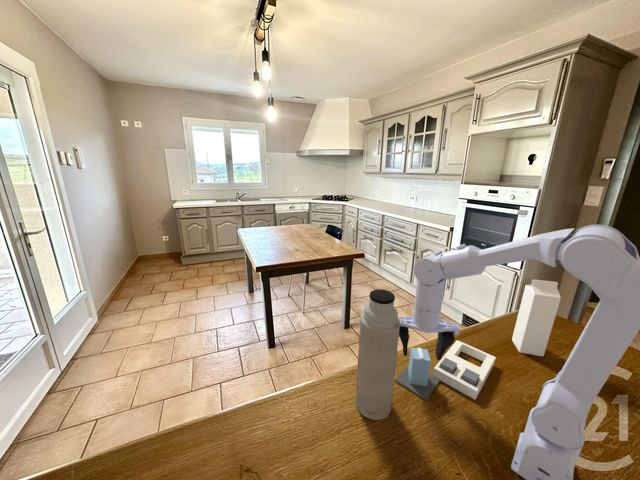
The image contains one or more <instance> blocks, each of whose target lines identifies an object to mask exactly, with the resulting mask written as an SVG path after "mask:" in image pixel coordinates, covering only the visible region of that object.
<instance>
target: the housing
mask: <svg viewBox="0 0 640 480" xmlns="http://www.w3.org/2000/svg"><path fill="white" fill-rule="evenodd" d="M461 351H462V352H461ZM460 353H463V354H467V356H471V357H473V358H474V359H477V360H479V361H480V362H482V364H481V365H480V366H478V365H476V364H474V363H472V362H470V361H467V360H465V359H464V358H461V357H460V356H459V355H460ZM443 355H444V356H442V357H441V360H438V361H439V362H437V364H435V366H434V367H433V370H432V371H433V372H432V376H433V377H435V378H437V379H439V380H440V382H442V383H444V384H446V385H448V386H449V387H451V388H453V389H455V390H457V391H458V392H460V393H462V394H464V395H465V396H468V397H469V398H471V399H473V400H474V401H475V400H476V399H477V397H478V396H479V394H480V392H481V390H482V388H483V386H484V384H485V382H486V381H487V379H488V377H489V375H490V373H491V371H492V369H493V367H494V366H495V362H496V358H497V357H496V356H494V355H492V354H489V353H487V352H485V351H483V350H480V349H479V348H476V347H474V346H471V345H470V344H468V343H465V342H462V341H460V340H458V339H457V340H455V341H454V343H453V344H452V345H451V346H450V348H448V350H447V351H446V353H444V354H443ZM444 358H447V359H449V360H451V361H453V362H455V363H457V367H456V371H455V372H454V374H451V373H449V372H447V371H445V370H443V369H441V368H440V364H441V362H442V361H443V360H444ZM466 368H467V369H469V370H471V371H473V372H475V373H477V374H479V375H480V376H479V380H478V384H477V386H476V387H475V386H473V385H471V384H469V383H467V382H466V381H464V380H462V379H461V378H462V374H463V373H464V371H465V369H466Z"/></svg>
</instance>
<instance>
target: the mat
mask: <svg viewBox="0 0 640 480" xmlns="http://www.w3.org/2000/svg"><path fill="white" fill-rule="evenodd" d="M408 367H409V364H408V365H407V366H406V368H405V369H404V370H402V372H401V373H399V375H398V376H397V377H396V378H394V381H395V382H396V383H398V385H401V386H402V387H404V388H405V389H407V391H410V392H412V393H413V394H415V395H416V396H418V397H419V398H421V399H422V400H423V401H425V402H426V401H427V399H428V398H429V397H430V395H431V394H432V393H433V391H434V390H435V389H436V387H437V386H438V385H439V383H440V382H441V380H439V379H437V378H435V377H434V376H433V374H430V373H429V377H428V383H427V386H422V385H415V384H410V380H409V375H408Z"/></svg>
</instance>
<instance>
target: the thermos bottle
mask: <svg viewBox="0 0 640 480" xmlns="http://www.w3.org/2000/svg"><path fill="white" fill-rule="evenodd" d="M395 300H396V295H395V294H394V293H393V292H392V291H391V290H387V289H379V288H378V289H373V290H372V291H370V292H369V298H368V302H367V303H366V304H365V305H364V309H363V311H362V313H360V316H359V318H360V319H359V333H358V335H359V337H358V349H357V351H358V352H357V368H356V369H357V370H356V372H357V373H356V389H355V390H356V391H355V406H356V409H357V410H358V412H360V415H362V416H364V417H366V418H367V419H370V420H374V421H379V420H383V419H385V418H387V417H388V416H389V415H390V413H391V411H392V404H393V403H392V402H393V393H394V381H395V373H396V365H397V358H398V357H397V356H398V355H397V354H398V345H399V339H400V337H399V329H400V320H399V318H398V317H399V315H398V314H399V313H398V309H397V308H396V306H394V304H395Z"/></svg>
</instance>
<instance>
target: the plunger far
mask: <svg viewBox="0 0 640 480" xmlns="http://www.w3.org/2000/svg"><path fill="white" fill-rule="evenodd" d="M456 367H457V363H455V362H453V361H451V360H449V359H447V358H444V360H443V361H442V362H441V364H440V368H441V369H443V370H445V371H447V372H449V373H451V374H454V372H455V371H456Z"/></svg>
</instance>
